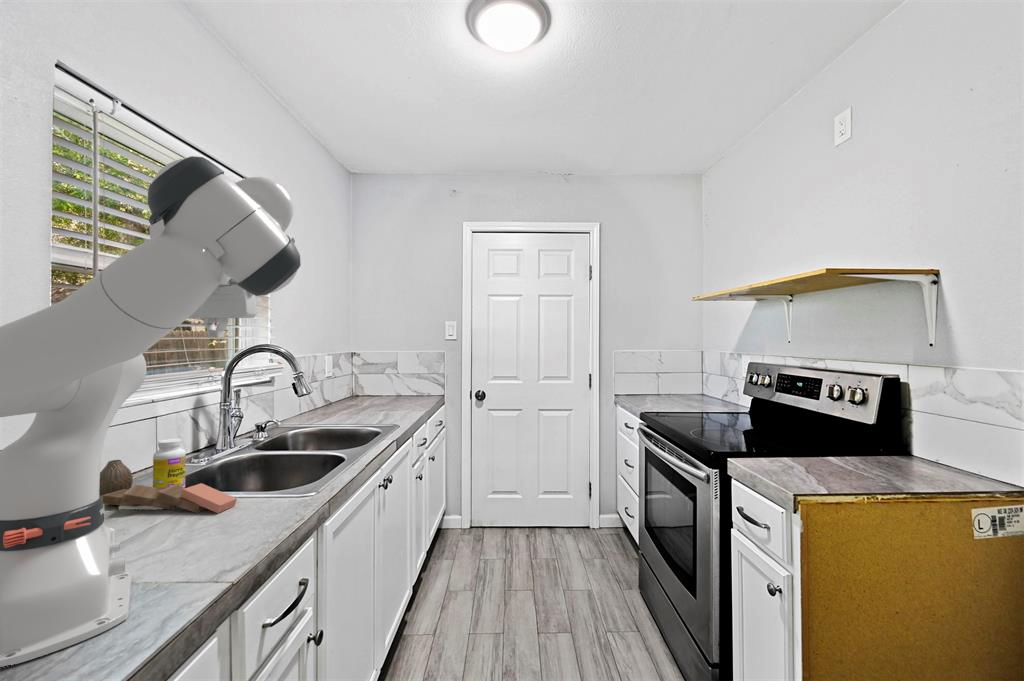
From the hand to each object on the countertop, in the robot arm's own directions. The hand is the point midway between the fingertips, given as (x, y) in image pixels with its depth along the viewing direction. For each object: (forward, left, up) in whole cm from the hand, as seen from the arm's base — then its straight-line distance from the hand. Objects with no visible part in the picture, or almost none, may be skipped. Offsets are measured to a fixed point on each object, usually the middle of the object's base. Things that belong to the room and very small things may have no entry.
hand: (215, 337), depth 108 cm
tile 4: (+8, +11, -37) cm, 40 cm away
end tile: (-8, 0, -38) cm, 39 cm away
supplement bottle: (+18, +5, -39) cm, 44 cm away
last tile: (+5, +8, -39) cm, 40 cm away
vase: (+23, +15, -39) cm, 48 cm away
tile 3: (+3, +7, -38) cm, 39 cm away
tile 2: (-4, +3, -38) cm, 39 cm away
